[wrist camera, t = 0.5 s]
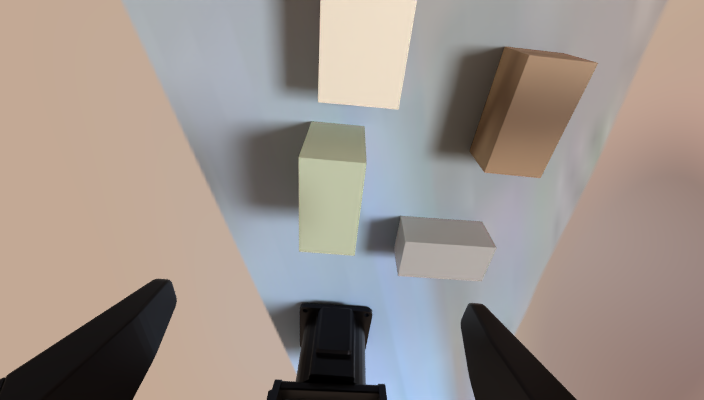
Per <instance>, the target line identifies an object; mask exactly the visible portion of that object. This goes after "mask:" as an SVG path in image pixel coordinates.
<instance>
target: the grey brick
mask: <svg viewBox="0 0 704 400" xmlns="http://www.w3.org/2000/svg"><path fill="white" fill-rule="evenodd" d="M495 250H496V246H495V244H494V242H493V240H492V239H491V237H490V235H489V233H488V231H487V229H486V228H485V226H484V224H483V222H480V221H466V220H451V219H437V218H423V217H409V216H401V217H400V222H399V227H398V232H397V237H396V242H395V247H394V252H395V259H396V265H397V272H398V276H407V277H423V278H438V279H454V280H469V281H482V279H483V277H484V275H485V273H486V270H487V268H488V266H489V264H490V261H491V259H492V257H493V255H494V253H495Z"/></svg>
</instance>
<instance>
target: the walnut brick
mask: <svg viewBox="0 0 704 400" xmlns="http://www.w3.org/2000/svg"><path fill="white" fill-rule="evenodd" d="M597 64H598V63H596V62H593V61H589V60H586V59H582V58H579V57H575V56H572V55H568V54H564V53H557V52H548V51H539V50H531V49H522V48H513V47H504V50H503V53H502V56H501V59H500V62H499V65H498V68H497V71H496V74H495V77H494V80H493V83H492V86H491V89H490V92H489V95H488V98H487V101H486V104H485V107H484V110H483V112H482V115H481V118H480V121H479V124H478V127H477V130H476V133H475V136H474V139H473V142H472V145H471V148H470V153H471V154H472V156H473V157H474V158H475V160H476V161H477V163H478V164H479V165H480V167H481V168H482V170H483V171H484V172H485V173H495V174H505V175H515V176H525V177H535V178H541V176H542V174H543V172H544V170H545V168H546V166H547V164H548V162H549V160H550V158H551V156H552V154H553V152H554V150H555V148H556V146H557V144H558V142H559V140H560V138H561V136H562V134H563V132H564V130H565V128H566V126H567V124H568V122H569V120H570V118H571V116H572V114H573V112H574V110H575V108H576V106H577V104H578V102H579V100H580V98H581V96H582V94H583V92H584V90H585V88H586V86H587V84H588V82H589V80H590V78H591V76H592V74H593V72H594V70H595V68H596V66H597Z"/></svg>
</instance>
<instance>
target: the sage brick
mask: <svg viewBox="0 0 704 400" xmlns="http://www.w3.org/2000/svg"><path fill="white" fill-rule="evenodd" d="M365 170H366V146H365V127H364V126H357V125H346V124H335V123H325V122H314V121H312V122H311V124H310V127H309V130H308V133H307V135H306V138H305V141H304V144H303V147H302V149H301V152H300V155H299V252H312V253H326V254H339V255H352V256H354V255H355V247H356V240H357V232H358V224H359V217H360V209H361V201H362V194H363V186H364V178H365Z"/></svg>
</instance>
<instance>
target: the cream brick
mask: <svg viewBox="0 0 704 400" xmlns="http://www.w3.org/2000/svg"><path fill="white" fill-rule="evenodd" d="M416 3H417V0H321V2H320V42H319V83H318V102H322V103H333V104H344V105H355V106H366V107H377V108H388V109H399V103H400V97H401V91H402V85H403V79H404V74H405V68H406V62H407V56H408V50H409V44H410V38H411V32H412V27H413V21H414V15H415V9H416Z"/></svg>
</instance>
